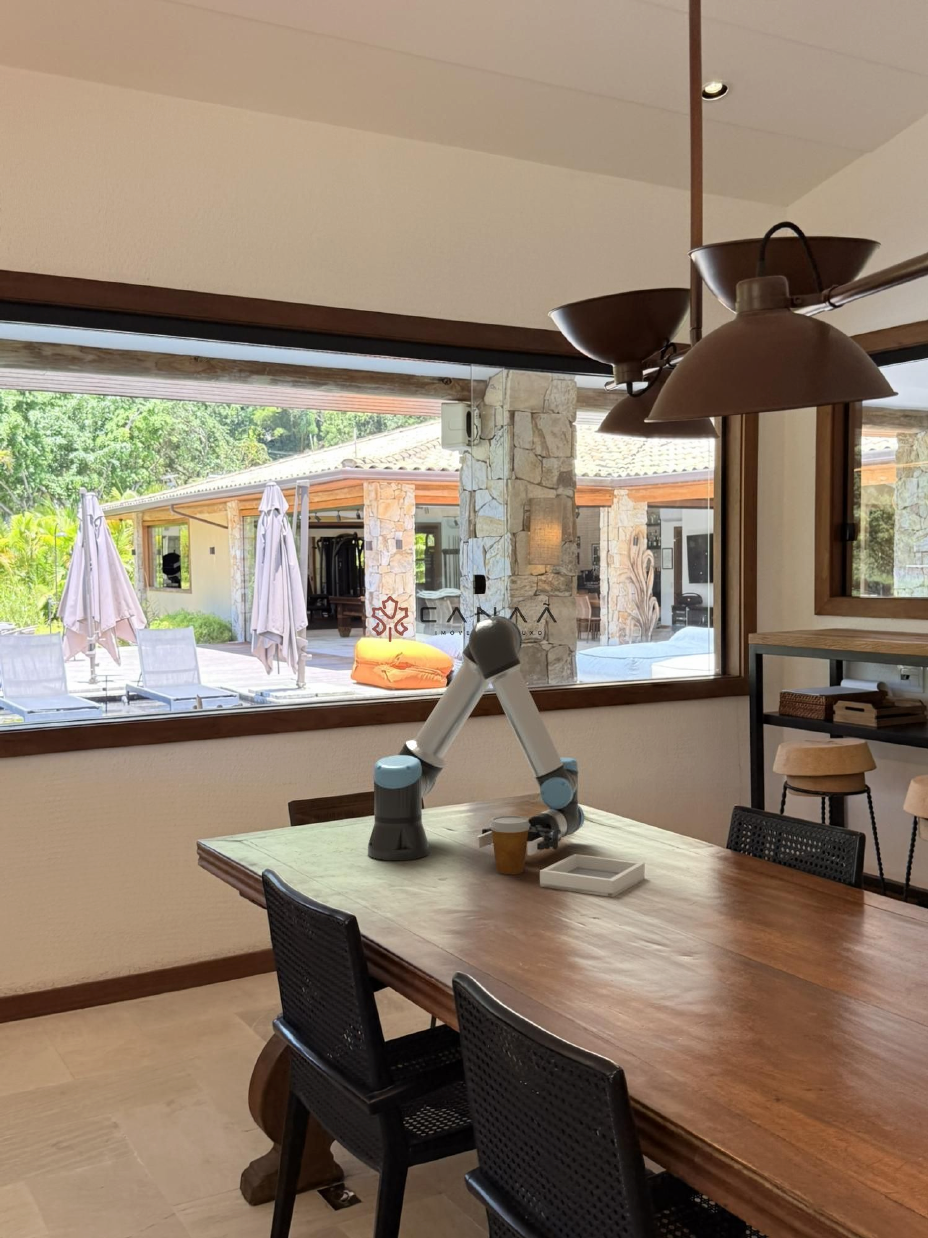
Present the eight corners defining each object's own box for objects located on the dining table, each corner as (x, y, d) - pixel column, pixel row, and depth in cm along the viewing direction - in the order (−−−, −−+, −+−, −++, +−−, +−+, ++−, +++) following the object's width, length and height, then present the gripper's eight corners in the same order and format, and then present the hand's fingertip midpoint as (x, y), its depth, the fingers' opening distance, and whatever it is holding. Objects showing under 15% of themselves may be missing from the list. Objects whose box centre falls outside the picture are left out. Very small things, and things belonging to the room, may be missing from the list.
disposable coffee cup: (536, 868, 271) (536, 817, 270) (521, 878, 262) (521, 825, 262) (499, 864, 275) (498, 814, 274) (483, 873, 266) (482, 821, 266)
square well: (539, 886, 254) (539, 870, 254) (574, 869, 269) (574, 854, 269) (612, 897, 245) (612, 881, 245) (644, 878, 260) (644, 863, 260)
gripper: (591, 849, 277) (551, 868, 259) (501, 837, 290) (457, 855, 272) (591, 817, 277) (551, 835, 259) (501, 808, 290) (456, 824, 272)
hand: (502, 846), depth 265 cm, fingers open, 13 cm apart
